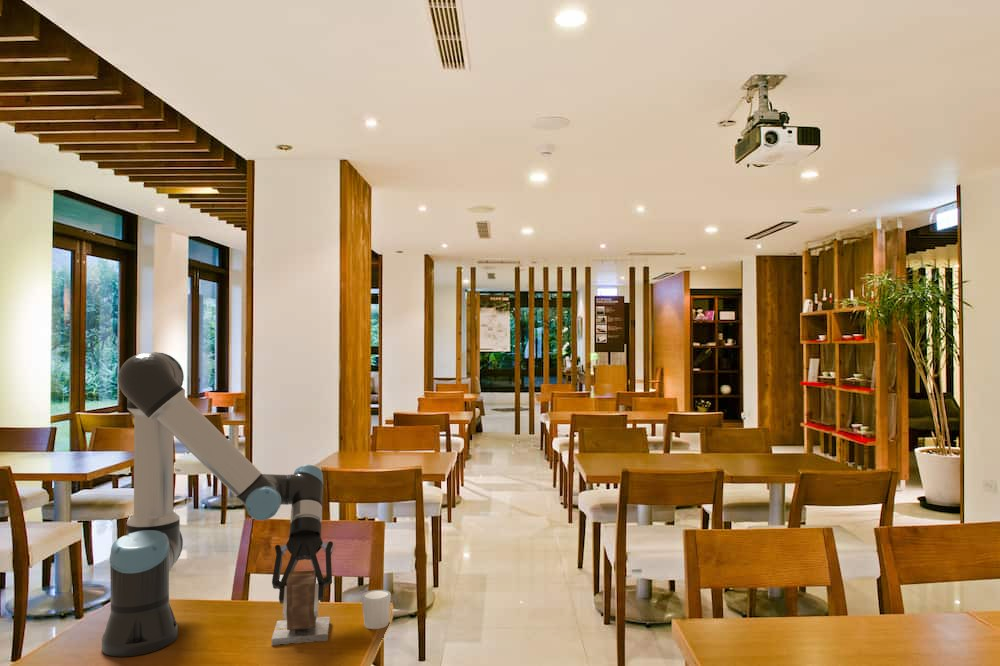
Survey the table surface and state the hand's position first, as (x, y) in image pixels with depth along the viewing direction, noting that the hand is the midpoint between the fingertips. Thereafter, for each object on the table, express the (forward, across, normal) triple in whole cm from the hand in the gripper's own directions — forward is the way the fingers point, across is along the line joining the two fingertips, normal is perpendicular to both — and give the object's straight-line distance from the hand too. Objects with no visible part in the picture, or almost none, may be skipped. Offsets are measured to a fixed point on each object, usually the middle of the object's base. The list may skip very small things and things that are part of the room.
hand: (300, 614), depth 154 cm
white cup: (0, -17, -8) cm, 19 cm away
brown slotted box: (0, 0, -5) cm, 5 cm away
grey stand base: (+1, 0, -7) cm, 7 cm away
